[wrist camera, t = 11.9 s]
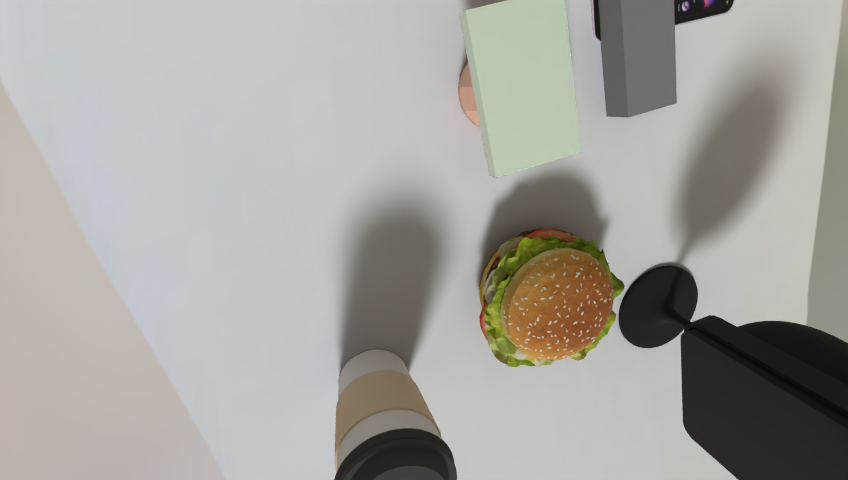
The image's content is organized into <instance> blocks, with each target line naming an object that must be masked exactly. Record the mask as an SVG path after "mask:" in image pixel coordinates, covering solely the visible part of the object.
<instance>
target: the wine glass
mask: <svg viewBox="0 0 848 480" xmlns="http://www.w3.org/2000/svg"><path fill="white" fill-rule="evenodd" d="M697 297H698V293H697V287H696V283H695V281H694V279H693V277H692V276H691V275H690V274H689V273H688V272H687V271H685V270H683V269H681V268H679V267H675V266H662V267H658V268H655V269H653V270H650V271H649V272H647V273H645V274H644V275H642V276H641V277H640V278H639V279H638V280H637V281H636V282H635V283H634V284H633V285H632V286H631V287H630V289H629V290H628V291H627V293H626V295H625V296H624V299H623V301H622V304H621V307H620V311H619V326H620V329H621V332H622V334H623V336H624V337H625V338H626V339H627V340H628V341H629V342H630V343H632V344H633V345H635V346H638V347H642V348H653V347H658V346H661V345H663V344H666V343H668V342H669V341H671V340H672V339H674V338H675V337H676V336H678V335H679V334H680V333H681V332H682V331H683V330H684V328H685V326H686V325H687V324H689V323H691V322H690V320H691V318H692V316H693V314H694V311H695V308H696V304H697ZM738 328H740V329H742V330H744V331H746V332H748V333H749V334H751V335H753V336H755V337H757V338H759V339H761V340H763V341H765V342H766V343H768V344H770V345H772V346H774V347H776V348H778V349H780V350H782V351H784V352H785V353H787V354H789V355H791V356H793V357H795V358H797V359H799V360H801V361H802V362H804V363H806V364H808V365H810V366H812V367H814V368H816V369H818V370H820V371H821V372H823V373H825V374H827V375H829V376H831V377H833V378H835V379H837V380H838V381H840V382H842V383H844V384H846V385H848V343H846V342H844V341H842V340H840V339H838V338H837V337H835V336H833V335H830V334H828V333H826V332H823V331H821V330H818V329H815V328H812V327H808V326H805V325H801V324H796V323H791V322H784V321H762V322H754V323H749V324H745V325H742V326H739V327H738Z"/></svg>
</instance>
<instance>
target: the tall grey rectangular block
mask: <svg viewBox="0 0 848 480" xmlns="http://www.w3.org/2000/svg"><path fill="white" fill-rule="evenodd" d="M598 2H599V16H600V30H601V50H602V62H603V75H604V87H605V99H606V111H607V116H610V117H631V116H635V115H638V114H641V113H645V112H648V111H652V110H655V109H659V108H662V107H665V106H669V105H672V104H676V103H677V100H676V59H675V19H674V0H598Z"/></svg>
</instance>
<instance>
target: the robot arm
mask: <svg viewBox="0 0 848 480" xmlns="http://www.w3.org/2000/svg"><path fill="white" fill-rule="evenodd" d="M681 367H682V403H683V424H684V427H685V429H686V431H687V433H688V434H689V435H690V437H691V438H692V439H693V440H694V441H695V442H696V443H698V444H699V445H700V446H701V447H702V448H703V449H704V450H706V451H707V452H708V453H709V454H710V455H711V456H712V457H713V458H715V459H716V460H717V461H718V462H719V463H720V464H721V465H722V466H724V467H725V468H726V469H727V470H728V471H729V472H730V473H732V474H733V475H734V476H735V477H736V478H737V479H738V480H848V385H846V384H844V383H842V382H840V381H838V380H837V379H835V378H833V377H831V376H829V375H827V374H825V373H823V372H821V371H820V370H818V369H816V368H814V367H812V366H810V365H808V364H806V363H804V362H802V361H801V360H799V359H797V358H795V357H793V356H791V355H789V354H787V353H785V352H784V351H782V350H780V349H778V348H776V347H774V346H772V345H770V344H768V343H766V342H765V341H763V340H761V339H759V338H757V337H755V336H753V335H751V334H749V333H748V332H746V331H744V330H742V329H740V328H738V327H736V326H734V325H732V324H730V323H729V322H727V321H725V320H723V319H721V318H719V317H716V316H711V315H709V316H707V317H704V318H702V319H699V320H697V321H694V322H691V323H689V324H687V325H686V326H685V328H684V333H683V334H682V335H681Z"/></svg>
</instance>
